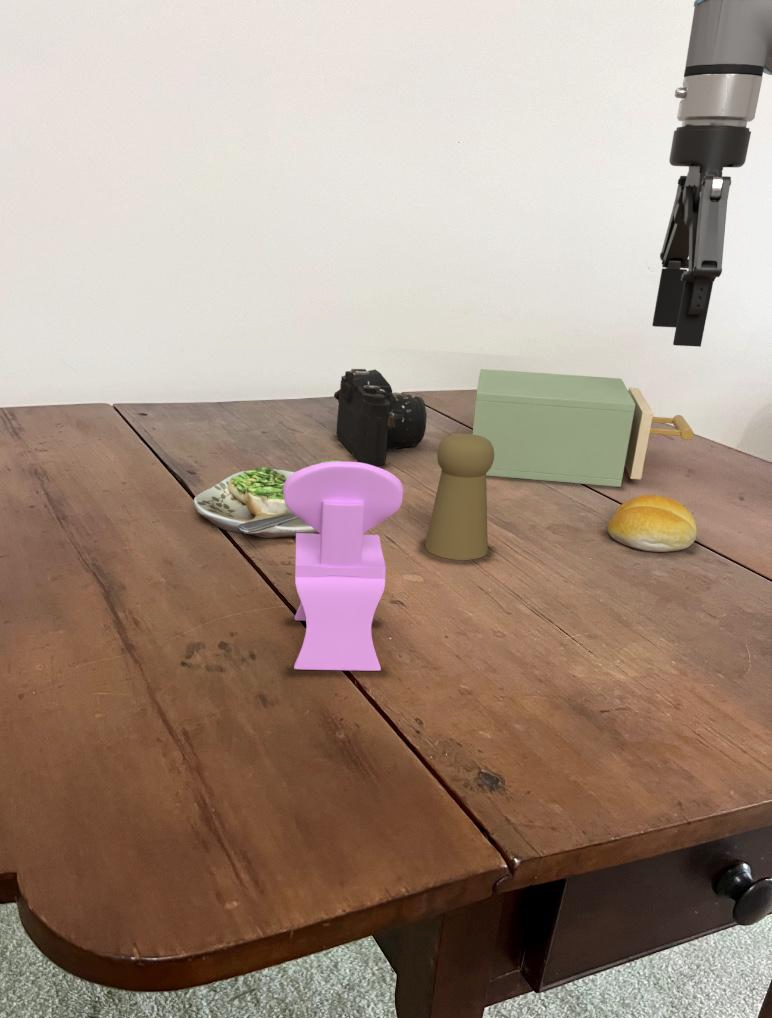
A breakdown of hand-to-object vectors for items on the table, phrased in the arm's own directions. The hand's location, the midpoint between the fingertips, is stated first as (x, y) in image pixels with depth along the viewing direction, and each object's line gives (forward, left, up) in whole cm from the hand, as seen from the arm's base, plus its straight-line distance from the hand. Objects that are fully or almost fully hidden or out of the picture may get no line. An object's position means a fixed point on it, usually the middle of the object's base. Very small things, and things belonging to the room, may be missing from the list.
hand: (674, 335), depth 104 cm
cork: (+22, +29, -17) cm, 40 cm away
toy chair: (+30, +51, -17) cm, 62 cm away
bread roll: (+3, +21, -17) cm, 27 cm away
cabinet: (+13, -3, -17) cm, 21 cm away
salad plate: (+40, +23, -17) cm, 49 cm away
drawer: (+7, -3, -16) cm, 18 cm away
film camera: (+34, -4, -17) cm, 38 cm away
